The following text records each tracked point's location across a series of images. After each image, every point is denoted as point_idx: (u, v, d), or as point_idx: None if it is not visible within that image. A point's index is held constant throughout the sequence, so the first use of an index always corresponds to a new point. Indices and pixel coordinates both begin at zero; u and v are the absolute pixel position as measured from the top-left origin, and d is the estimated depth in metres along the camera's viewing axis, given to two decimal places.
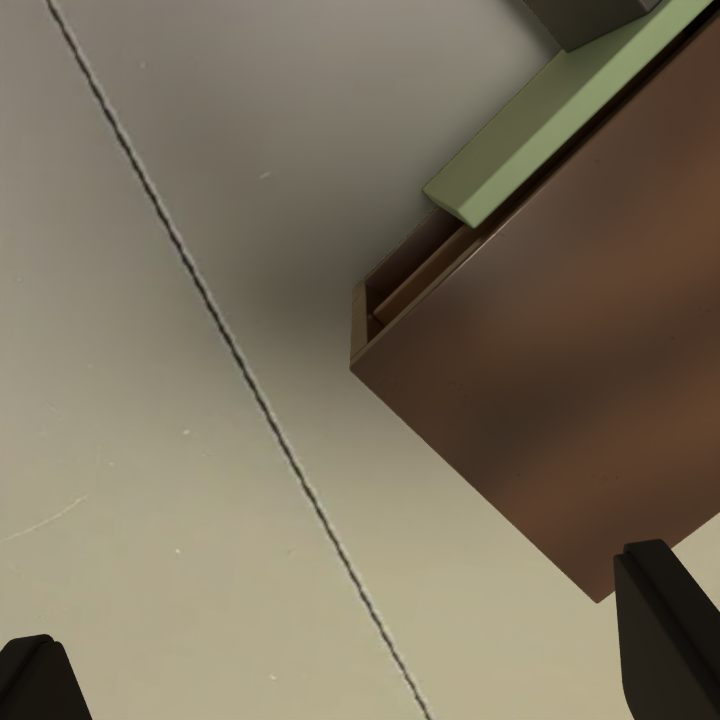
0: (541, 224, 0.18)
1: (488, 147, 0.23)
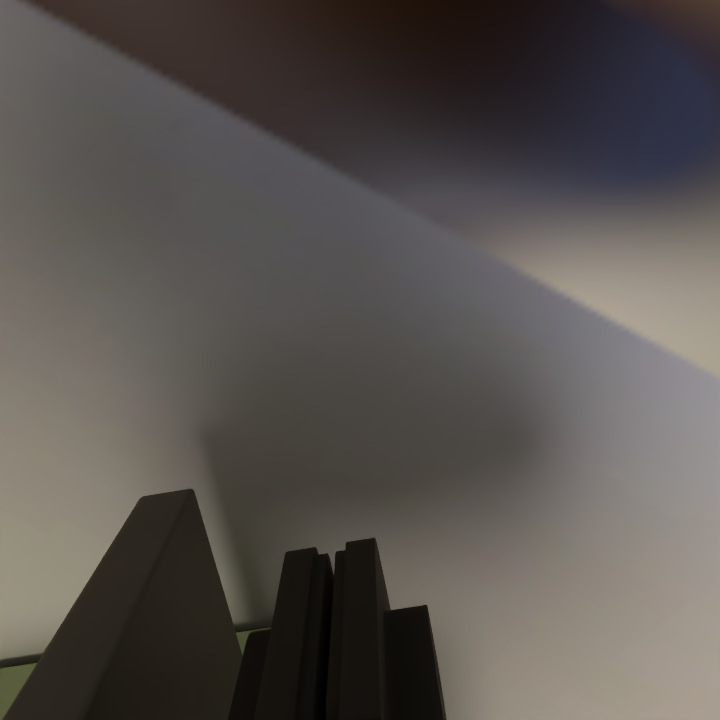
0: None
1: None
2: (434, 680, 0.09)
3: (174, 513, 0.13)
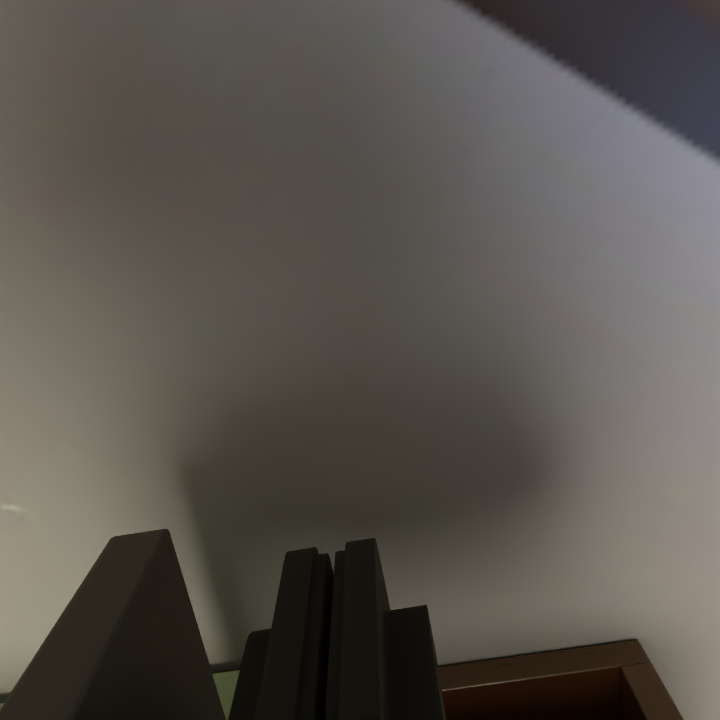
0: None
1: None
2: (434, 680, 0.09)
3: (145, 558, 0.12)
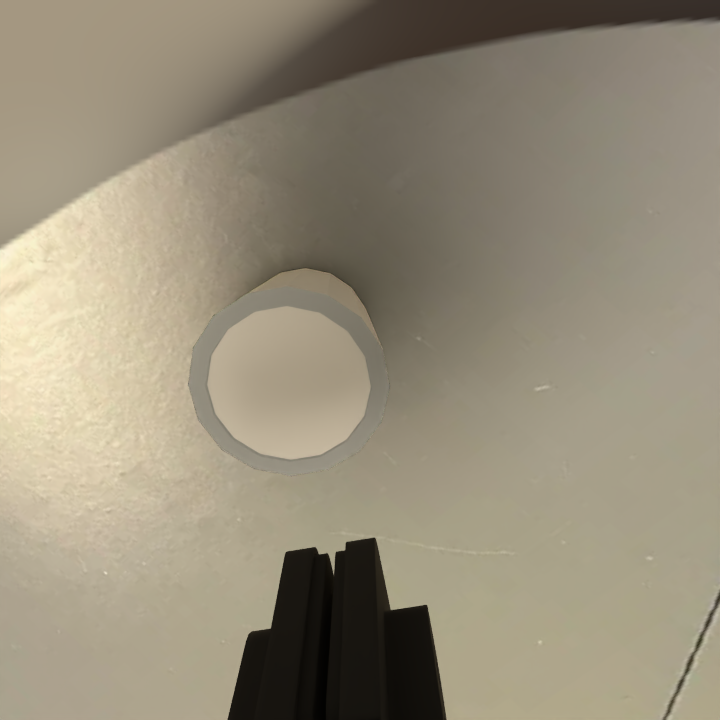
0: None
1: None
2: (434, 680, 0.09)
3: None
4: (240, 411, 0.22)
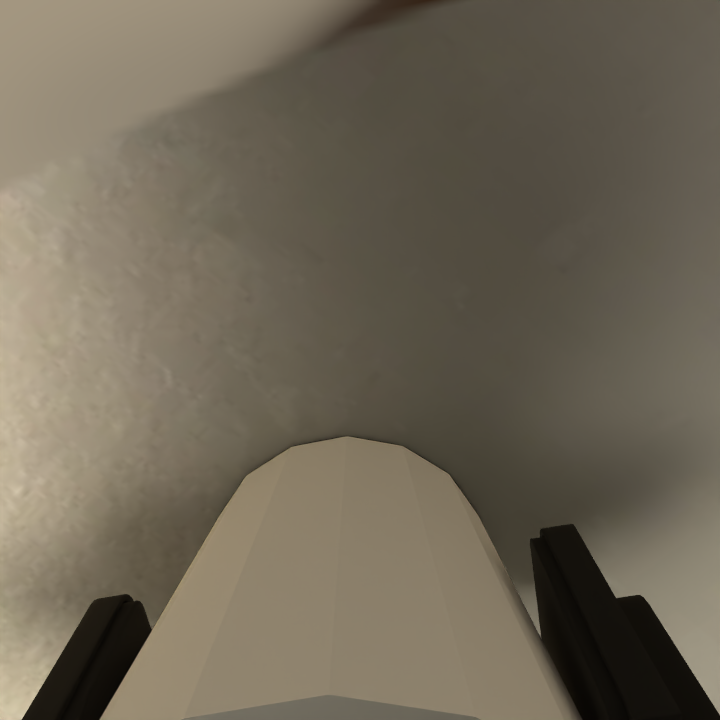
0: None
1: None
2: (689, 674, 0.08)
3: None
4: None
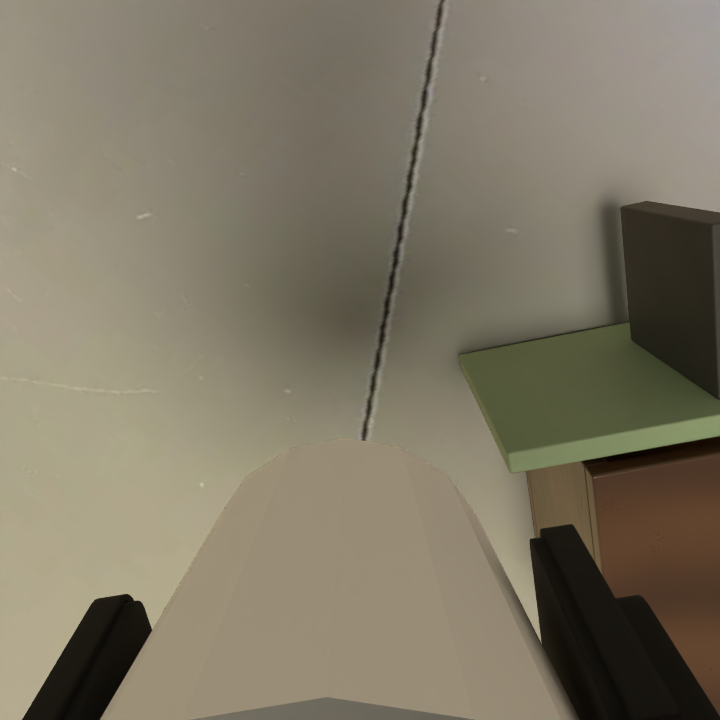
0: None
1: (542, 387, 0.26)
2: (689, 674, 0.08)
3: None
4: None
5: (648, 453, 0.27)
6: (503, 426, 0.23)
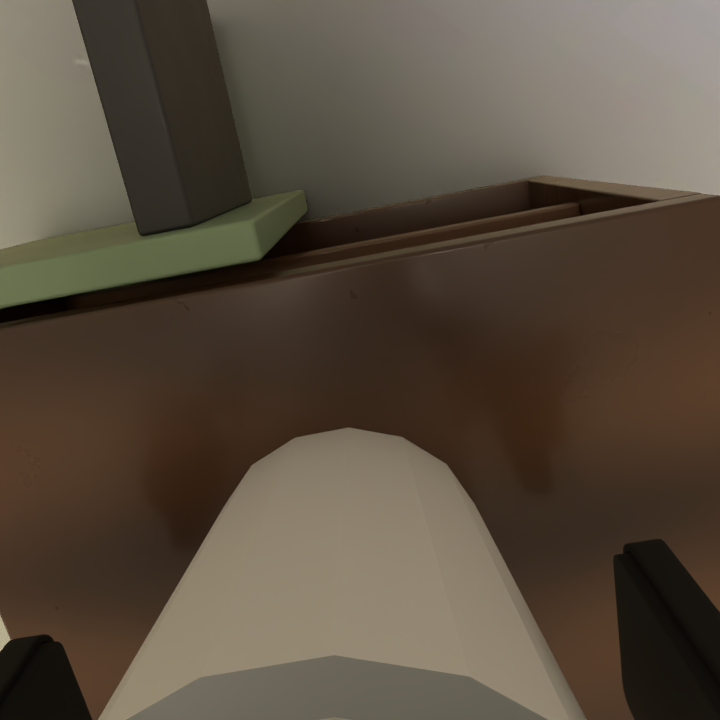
0: (243, 326, 0.12)
1: (12, 253, 0.17)
2: None
3: None
4: None
5: None
6: None
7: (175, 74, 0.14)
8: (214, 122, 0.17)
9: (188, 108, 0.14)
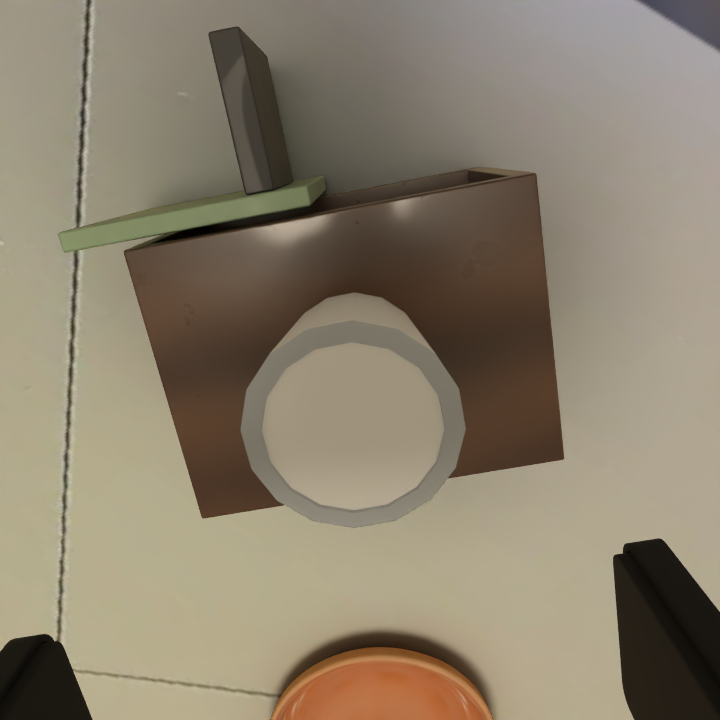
0: (302, 238, 0.25)
1: (156, 210, 0.30)
2: None
3: None
4: (298, 458, 0.20)
5: None
6: (86, 225, 0.27)
7: (262, 110, 0.26)
8: (276, 134, 0.29)
9: (267, 128, 0.27)
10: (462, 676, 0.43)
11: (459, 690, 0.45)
